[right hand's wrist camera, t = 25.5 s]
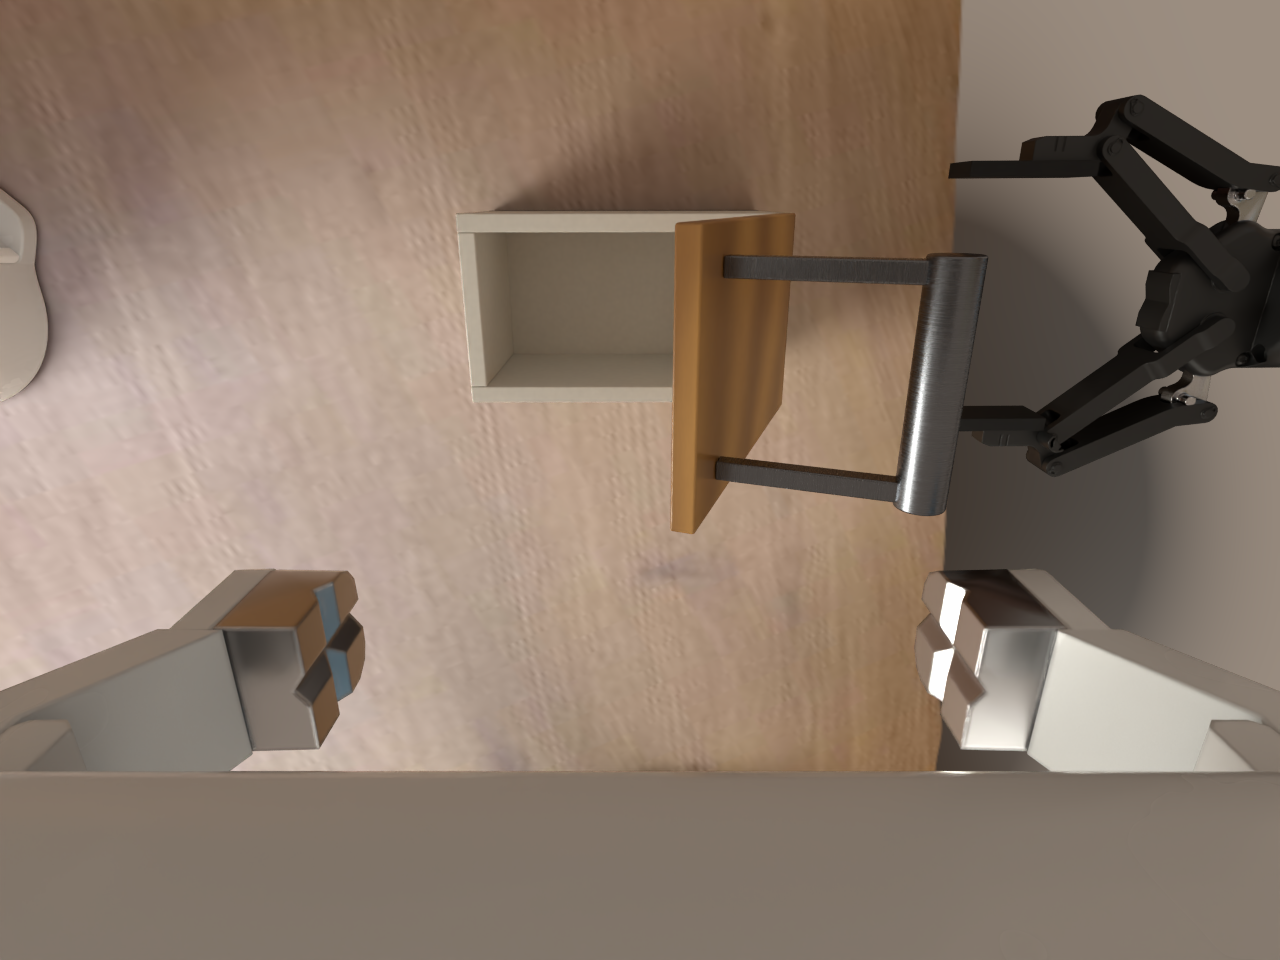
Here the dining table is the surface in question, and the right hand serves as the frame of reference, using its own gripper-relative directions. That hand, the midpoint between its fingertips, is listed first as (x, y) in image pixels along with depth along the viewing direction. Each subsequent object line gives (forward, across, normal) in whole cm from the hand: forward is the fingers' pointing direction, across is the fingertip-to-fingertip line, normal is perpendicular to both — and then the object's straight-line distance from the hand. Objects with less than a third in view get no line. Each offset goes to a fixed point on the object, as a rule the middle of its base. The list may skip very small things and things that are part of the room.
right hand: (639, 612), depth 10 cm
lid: (+21, +4, 0) cm, 21 cm away
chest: (+39, -1, 0) cm, 39 cm away
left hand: (+32, +17, 0) cm, 36 cm away
